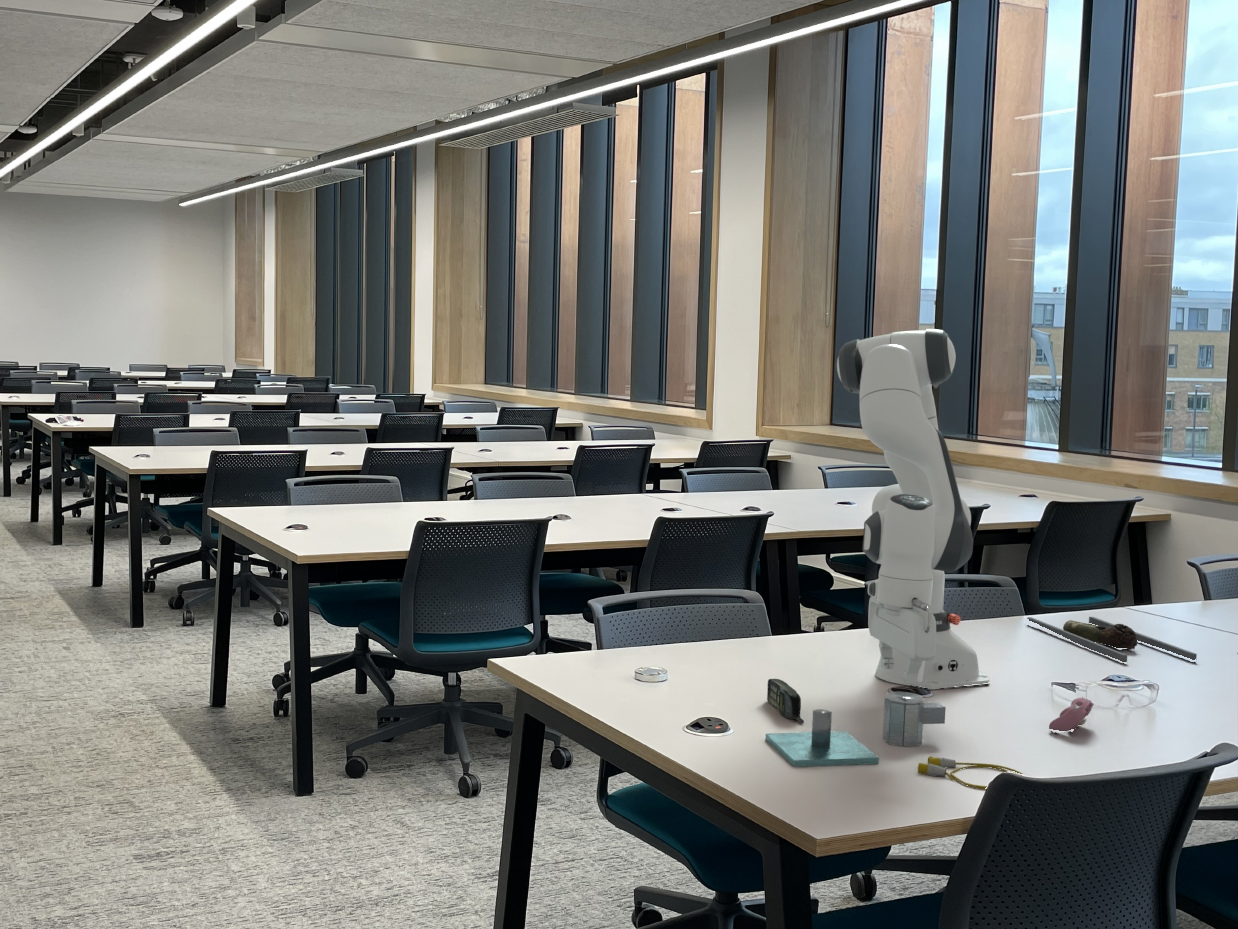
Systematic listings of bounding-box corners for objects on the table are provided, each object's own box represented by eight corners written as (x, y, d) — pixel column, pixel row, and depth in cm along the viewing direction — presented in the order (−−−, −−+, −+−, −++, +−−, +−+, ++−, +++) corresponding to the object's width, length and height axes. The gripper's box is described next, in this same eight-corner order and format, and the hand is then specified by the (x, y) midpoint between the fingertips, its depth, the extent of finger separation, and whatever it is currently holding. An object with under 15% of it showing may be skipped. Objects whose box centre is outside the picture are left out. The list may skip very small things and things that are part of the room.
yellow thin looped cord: (951, 758, 201) (952, 746, 200) (1042, 784, 189) (1042, 771, 189) (908, 773, 192) (909, 761, 192) (1000, 801, 181) (1001, 788, 181)
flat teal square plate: (844, 737, 209) (846, 699, 208) (878, 763, 195) (880, 723, 194) (765, 739, 206) (767, 701, 205) (793, 766, 192) (795, 725, 192)
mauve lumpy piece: (1069, 746, 213) (1090, 713, 211) (1045, 730, 215) (1066, 697, 213) (1081, 732, 222) (1101, 701, 219) (1058, 717, 224) (1078, 686, 221)
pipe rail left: (1030, 625, 308) (1031, 617, 308) (1126, 664, 269) (1127, 655, 269) (1026, 625, 308) (1027, 617, 308) (1122, 664, 269) (1123, 655, 269)
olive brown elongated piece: (1061, 639, 294) (1062, 615, 294) (1079, 637, 298) (1080, 613, 298) (1127, 654, 280) (1129, 629, 279) (1145, 651, 283) (1147, 627, 283)
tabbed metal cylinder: (931, 734, 212) (934, 690, 211) (948, 745, 206) (950, 700, 205) (878, 736, 210) (880, 692, 209) (893, 747, 204) (895, 701, 203)
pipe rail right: (1092, 624, 312) (1092, 616, 311) (1196, 662, 273) (1196, 654, 272) (1088, 624, 311) (1089, 616, 311) (1192, 663, 272) (1192, 654, 272)
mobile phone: (765, 676, 229) (792, 696, 215) (780, 676, 230) (808, 695, 215) (764, 703, 230) (791, 724, 215) (779, 702, 230) (807, 724, 215)
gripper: (949, 605, 196) (942, 691, 197) (898, 583, 216) (892, 661, 217) (912, 604, 195) (905, 691, 196) (864, 582, 215) (858, 660, 216)
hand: (898, 675), depth 206 cm, fingers open, 8 cm apart
